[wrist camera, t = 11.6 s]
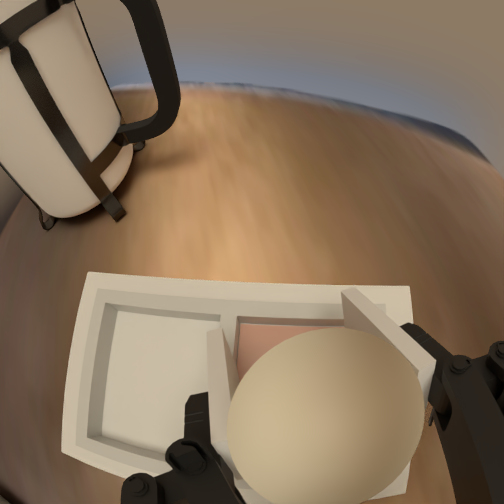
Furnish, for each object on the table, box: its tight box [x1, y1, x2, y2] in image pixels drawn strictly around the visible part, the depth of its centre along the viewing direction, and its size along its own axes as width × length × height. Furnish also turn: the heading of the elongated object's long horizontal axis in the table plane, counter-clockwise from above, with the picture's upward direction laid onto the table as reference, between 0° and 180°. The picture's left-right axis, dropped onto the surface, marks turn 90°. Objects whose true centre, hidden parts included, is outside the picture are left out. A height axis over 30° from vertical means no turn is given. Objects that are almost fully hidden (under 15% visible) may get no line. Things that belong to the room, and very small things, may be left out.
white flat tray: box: [62, 272, 413, 504], centre depth 17 cm, size 26×16×3 cm, turn 86°
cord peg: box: [227, 328, 425, 504], centre depth 11 cm, size 5×5×12 cm
